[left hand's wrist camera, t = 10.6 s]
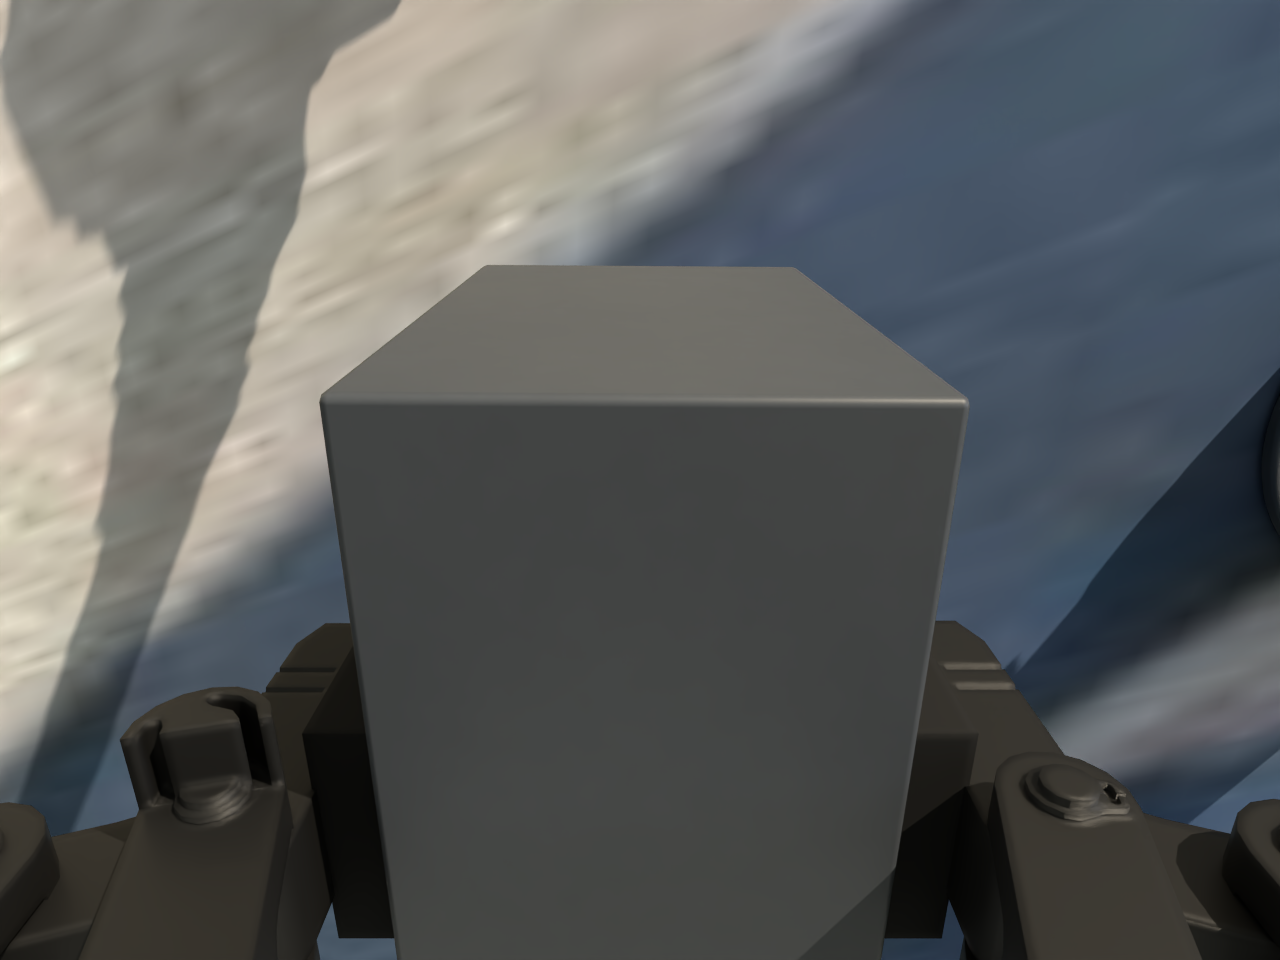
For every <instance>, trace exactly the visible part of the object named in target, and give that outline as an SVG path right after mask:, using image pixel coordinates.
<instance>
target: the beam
mask: <svg viewBox="0 0 1280 960" xmlns="http://www.w3.org/2000/svg"><path fill="white" fill-rule="evenodd" d="M319 403H320V410H321V417H322V425H323V432H324V439H325V446H326V453H327V460H328V468H329V475H330V482H331V489H332V496H333V503H334V510H335V518H336V525H337V532H338V539H339V546H340V553H341V560H342V568H343V575H344V582H345V589H346V596H347V603H348V610H349V618H350V625H351V632H352V639H353V646H354V653H355V661H356V668H357V675H358V682H359V689H360V696H361V703H362V711H363V718H364V725H365V732H366V739H367V746H368V753H369V761H370V768H371V775H372V782H373V789H374V796H375V803H376V811H377V818H378V825H379V832H380V839H381V846H382V854H383V861H384V868H385V875H386V882H387V889H388V896H389V904H390V911H391V918H392V925H393V932H394V939H395V946H396V954H397V960H881V956H882V949H883V943H884V937H885V931H886V925H887V918H888V912H889V906H890V900H891V893H892V887H893V881H894V875H895V869H896V862H897V856H898V850H899V844H900V837H901V831H902V825H903V819H904V812H905V806H906V800H907V794H908V788H909V781H910V775H911V769H912V763H913V756H914V750H915V744H916V738H917V732H918V725H919V719H920V713H921V707H922V700H923V694H924V688H925V682H926V676H927V669H928V663H929V657H930V651H931V644H932V638H933V632H934V626H935V620H936V613H937V607H938V601H939V595H940V588H941V582H942V576H943V570H944V564H945V557H946V551H947V545H948V539H949V532H950V526H951V520H952V514H953V508H954V501H955V495H956V489H957V483H958V476H959V470H960V464H961V458H962V451H963V445H964V439H965V433H966V427H967V420H968V414H969V408H970V405H969V401H968V398H966V397H965V396H964V395H963V394H961V393H960V392H959V391H957V390H956V389H955V388H953V387H952V386H951V385H949V384H948V383H947V382H945V381H944V380H943V379H941V378H940V377H939V376H937V375H936V374H935V373H933V372H932V371H931V370H929V369H928V368H927V367H925V366H924V365H923V364H921V363H920V362H919V361H918V360H916V359H915V358H914V357H912V356H911V355H910V354H908V353H907V352H906V351H904V350H903V349H902V348H900V347H899V346H898V345H896V344H895V343H894V342H892V341H891V340H890V339H888V338H887V337H886V336H884V335H883V334H882V333H880V332H879V331H878V330H877V329H875V328H874V327H873V326H871V325H870V324H869V323H867V322H866V321H865V320H863V319H862V318H861V317H859V316H858V315H857V314H855V313H854V312H853V311H851V310H850V309H849V308H847V307H846V306H845V305H843V304H842V303H841V302H839V301H838V300H837V299H836V298H834V297H833V296H832V295H830V294H829V293H828V292H826V291H825V290H824V289H822V288H821V287H820V286H818V285H817V284H816V283H814V282H813V281H812V280H810V279H809V278H808V277H806V276H805V275H804V274H802V273H801V272H800V271H798V270H797V269H795V268H793V267H685V266H548V265H486V266H484V267H483V268H481V269H480V270H479V271H478V272H476V273H475V274H474V275H472V276H471V277H470V278H469V279H467V280H466V281H465V282H464V283H462V284H461V285H460V286H458V287H457V288H456V289H455V290H453V291H452V292H451V293H450V294H448V295H447V296H446V297H445V298H443V299H442V300H441V301H439V302H438V303H437V304H436V305H434V306H433V307H432V308H431V309H429V310H428V311H427V312H426V313H424V314H423V315H422V316H420V317H419V318H418V319H417V320H415V321H414V322H413V323H412V324H410V325H409V326H408V327H407V328H405V329H404V330H403V331H401V332H400V333H399V334H398V335H396V336H395V337H394V338H393V339H391V340H390V341H389V342H388V343H386V344H385V345H384V346H382V347H381V348H380V349H379V350H377V351H376V352H375V353H374V354H372V355H371V356H370V357H368V358H367V359H366V360H365V361H363V362H362V363H361V364H360V365H358V366H357V367H356V368H355V369H353V370H352V371H351V372H349V373H348V374H347V375H346V376H344V377H343V378H342V379H341V380H339V381H338V382H337V383H336V384H334V385H333V386H332V387H330V388H329V389H328V390H327V391H325V392H324V393H323V394H322V395H321V398H320V402H319Z"/></svg>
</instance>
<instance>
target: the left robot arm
mask: <svg viewBox="0 0 1280 960" xmlns="http://www.w3.org/2000/svg"><path fill="white" fill-rule="evenodd" d="M1261 477H1262V487H1263V494H1264V499H1265V504H1266V508H1267V510H1268V513H1269V516H1270V519H1271V521H1272V523H1273V525H1274V527H1275V529H1276V531H1277V533H1278V534H1279V536H1280V395H1279V398H1278V400H1277V402H1276V405H1275V407H1274V409H1273V412H1272V415H1271V418H1270V421H1269V424H1268V428H1267V432H1266V437H1265V441H1264V447H1263V455H1262V475H1261ZM120 742H121V746H122V749H123V753H124V757H125V760H126V764H127V767H128V771H129V774H130V778H131V782H132V785H133V789H134V792H135V796H136V800H137V803H138V807H139V811H138V814H137V816H136V817H133V818H130V819H127V820H123V821H120V822H116V823H112V824H108V825H103V826H99V827H94V828H90V829H85V830H81V831H76V832H72V833H68V834H63V835H59V836H54V837H51V835H50V832H49V829H48V826H47V823H46V820H45V817H44V816H43V815H42V814H41V813H40V812H38V811H37V810H36V809H35V808H34V807H32V806H30V805H23V804H16V803H10V802H8V803H0V960H320V955H319V950H318V945H317V937H318V935H319V932H320V930H321V928H322V925H323V923H324V920H325V918H326V915H327V913H328V911H329V908H330V906H331V903H333V909H334V914H335V920H336V925H337V931H338V936H339V938H394V932H393V925H392V918H391V911H390V904H389V896H388V889H387V882H386V875H385V868H384V861H383V854H382V846H381V839H380V832H379V825H378V818H377V811H376V803H375V796H374V789H373V782H372V775H371V768H370V761H369V753H368V746H367V739H366V732H365V725H364V718H363V711H362V703H361V696H360V689H359V682H358V675H357V668H356V661H355V653H354V646H353V639H352V632H351V625H350V623H325V624H324V625H323V626H321V627H320V628H318V629H317V630H315V631H314V632H313V633H311V634H310V635H308V636H307V637H306V638H304V639H303V640H301V641H300V642H298V643H297V644H296V645H295V647H294V648H293V650H292V651H291V652H290V654H289V655H288V657H287V658H286V660H285V661H284V662H283V664H282V665H281V667H280V672H276V674H275V675H274V677H273V678H272V680H271V681H270V683H269V684H268V685H267V687H266V692H265V693H262V694H260V693H259V692H257V691H253V690H249V689H245V688H241V687H217V688H208V689H204V690H200V691H196V692H191V693H187V694H183V695H181V696H179V697H176V698H174V699H172V700H169V701H167V702H165V703H162V704H160V705H158V706H156V707H154V708H153V709H151V710H150V711H149V712H147V713H146V714H144V715H143V716H141V717H140V718H139V719H137V720H136V721H134V722H133V723H132V725H131V726H130V727H129V728H128V730H127V731H126V732H125V734H124V735H123V736H122V737H121V739H120ZM949 900H950V903H951V905H952V908H953V910H954V912H955V915H956V917H957V920H958V922H959V925H960V927H961V929H962V932H963V934H964V940H963V945H962V950H961V955H960V960H1280V800H1278V799H1269V800H1263V801H1256V802H1250V803H1249V804H1248V805H1247V806H1245V807H1244V808H1243V809H1242V810H1241V811H1239V812H1238V813H1237V816H1236V819H1235V822H1234V825H1233V828H1232V831H1231V834H1229V833H1224V832H1220V831H1215V830H1211V829H1206V828H1202V827H1197V826H1193V825H1188V824H1184V823H1180V822H1175V821H1171V820H1166V819H1163V818H1159V817H1156V816H1152V815H1149V814H1146V813H1143V812H1142V810H1141V808H1140V806H1139V805H1138V803H1137V802H1136V800H1135V799H1134V797H1133V796H1132V794H1131V793H1130V792H1129V790H1128V789H1127V788H1126V787H1124V786H1123V785H1122V784H1121V783H1119V782H1118V781H1117V780H1116V779H1114V778H1113V777H1112V776H1111V775H1109V774H1108V773H1107V772H1105V771H1103V770H1101V769H1099V768H1097V767H1095V766H1093V765H1091V764H1089V763H1086V762H1084V761H1082V760H1080V759H1076V758H1073V757H1069V756H1065V755H1064V754H1063V752H1062V751H1061V749H1060V748H1059V747H1058V745H1057V744H1056V742H1055V741H1054V739H1053V738H1052V737H1051V735H1050V734H1049V732H1048V731H1047V729H1046V728H1045V727H1044V725H1043V724H1042V722H1041V721H1040V719H1039V718H1038V717H1037V715H1036V714H1035V712H1034V711H1033V710H1032V708H1031V707H1030V705H1029V704H1028V702H1027V701H1026V700H1025V698H1024V697H1023V695H1022V694H1021V692H1020V691H1019V690H1016V689H1015V684H1014V683H1013V681H1012V680H1011V678H1010V677H1009V675H1008V674H1007V673H1006V671H1005V670H1002V669H1001V664H1000V663H999V661H998V660H997V658H996V657H995V656H994V654H993V653H992V651H991V650H990V648H989V647H988V646H987V644H986V643H985V641H983V640H982V639H981V638H979V637H978V636H976V635H975V634H973V633H972V632H971V631H969V630H968V629H966V628H965V627H963V626H962V625H960V624H959V623H958V622H956V621H935V626H934V632H933V638H932V644H931V651H930V657H929V663H928V669H927V676H926V682H925V688H924V694H923V700H922V707H921V713H920V719H919V725H918V732H917V738H916V744H915V750H914V756H913V763H912V769H911V775H910V781H909V788H908V794H907V800H906V806H905V812H904V819H903V825H902V831H901V837H900V844H899V850H898V856H897V862H896V869H895V875H894V881H893V887H892V893H891V900H890V906H889V912H888V918H887V925H886V931H885V937H884V938H942V934H943V928H944V923H945V917H946V912H947V906H948V901H949Z"/></svg>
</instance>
